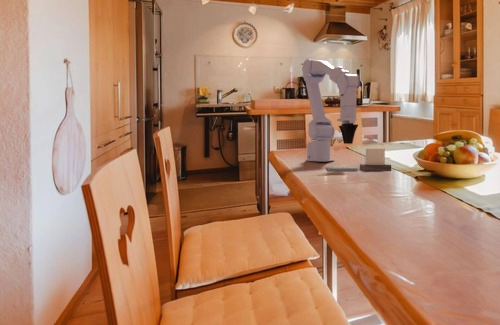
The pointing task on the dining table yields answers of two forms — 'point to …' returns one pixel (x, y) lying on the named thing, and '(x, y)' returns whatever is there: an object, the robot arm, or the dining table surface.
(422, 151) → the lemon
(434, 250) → the dining table surface
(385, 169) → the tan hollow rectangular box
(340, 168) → the tile
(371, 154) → the tan rectangular post
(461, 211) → the dining table surface
